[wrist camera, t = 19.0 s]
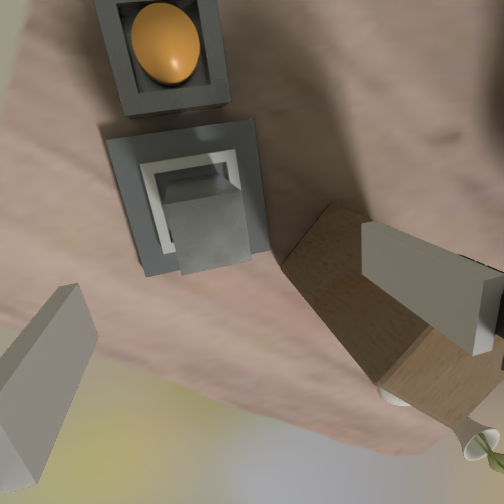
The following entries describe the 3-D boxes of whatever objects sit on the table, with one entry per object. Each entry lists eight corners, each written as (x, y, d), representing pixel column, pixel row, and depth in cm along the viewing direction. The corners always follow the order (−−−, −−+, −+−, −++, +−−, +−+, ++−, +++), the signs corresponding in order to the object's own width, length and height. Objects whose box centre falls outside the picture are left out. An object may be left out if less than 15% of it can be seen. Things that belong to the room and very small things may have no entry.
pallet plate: (251, 119, 31) (256, 117, 29) (267, 246, 37) (273, 252, 35) (107, 139, 29) (102, 139, 27) (146, 273, 34) (145, 281, 32)
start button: (190, 14, 26) (192, 0, 23) (202, 82, 28) (205, 76, 25) (128, 20, 25) (122, 5, 22) (144, 89, 27) (141, 83, 24)
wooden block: (277, 267, 38) (374, 386, 20) (329, 201, 37) (485, 263, 18) (332, 304, 42) (455, 433, 23) (381, 245, 40) (552, 334, 22)
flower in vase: (440, 370, 51) (654, 554, 29) (383, 406, 51) (551, 622, 28) (421, 314, 46) (664, 486, 23) (356, 354, 46) (538, 569, 23)
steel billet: (217, 172, 31) (241, 190, 20) (226, 220, 33) (251, 259, 22) (167, 181, 30) (164, 204, 19) (179, 229, 32) (181, 275, 21)
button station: (207, -6, 27) (212, -29, 24) (224, 106, 30) (231, 101, 27) (99, 2, 26) (87, -21, 22) (130, 119, 29) (124, 116, 25)
